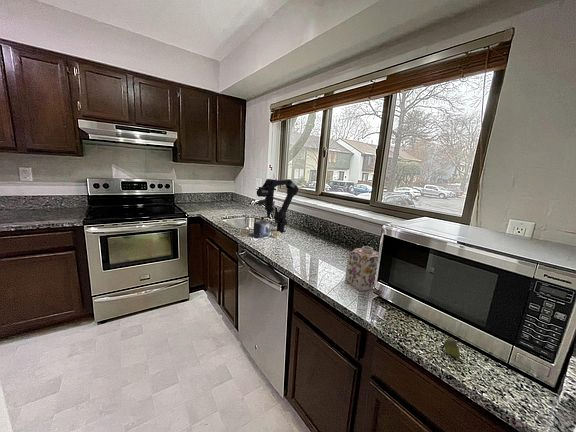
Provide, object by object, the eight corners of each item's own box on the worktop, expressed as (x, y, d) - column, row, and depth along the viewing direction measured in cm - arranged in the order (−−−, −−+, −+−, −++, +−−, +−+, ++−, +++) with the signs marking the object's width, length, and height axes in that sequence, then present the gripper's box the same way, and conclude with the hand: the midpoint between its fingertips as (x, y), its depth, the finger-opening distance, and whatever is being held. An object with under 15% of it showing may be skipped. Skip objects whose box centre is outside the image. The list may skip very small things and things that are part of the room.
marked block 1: (245, 234, 179) (245, 229, 178) (249, 235, 177) (250, 230, 176) (241, 235, 176) (242, 229, 175) (246, 236, 174) (246, 231, 173)
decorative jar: (380, 289, 111) (387, 251, 107) (359, 291, 106) (365, 252, 103) (364, 277, 122) (369, 243, 118) (344, 279, 117) (349, 243, 114)
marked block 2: (275, 236, 182) (275, 230, 181) (279, 237, 180) (280, 231, 179) (272, 237, 178) (272, 231, 177) (276, 238, 176) (277, 232, 175)
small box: (259, 238, 172) (260, 224, 170) (252, 236, 175) (253, 222, 173) (269, 236, 180) (270, 222, 178) (262, 234, 184) (263, 220, 182)
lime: (448, 347, 76) (451, 333, 75) (464, 359, 71) (468, 343, 70) (438, 350, 74) (441, 336, 73) (454, 362, 69) (458, 347, 68)
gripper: (258, 194, 187) (257, 214, 190) (258, 197, 169) (256, 219, 172) (273, 195, 189) (271, 215, 192) (274, 198, 170) (272, 220, 173)
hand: (268, 217), depth 182 cm, fingers closed
